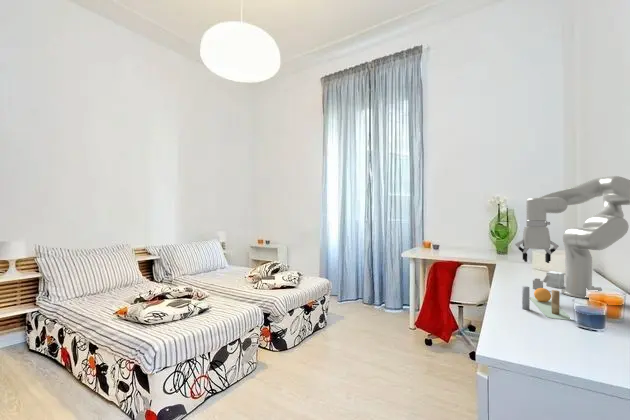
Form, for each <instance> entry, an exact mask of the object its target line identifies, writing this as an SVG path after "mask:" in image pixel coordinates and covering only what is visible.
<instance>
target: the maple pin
mask: <svg viewBox="0 0 630 420" xmlns="http://www.w3.org/2000/svg"><path fill="white" fill-rule="evenodd" d="M551 301H552V314H556V315H559V314H560V308H561V307H560V301H561V300H560V291H559V290H558V289H551Z"/></svg>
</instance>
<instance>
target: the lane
mask: <svg viewBox="0 0 630 420" xmlns="http://www.w3.org/2000/svg"><path fill="white" fill-rule="evenodd" d="M530 301H531V302H532V303H533V304H534V305H535V306H536V307H537V308H538V309H539V311H541V313H542V314H544V316H545V317H546V318H547V319H554V320H555V319H556V320H564V321H572V320H571V319H570V317H571V316H570V315H569V314H568V313H567V312H566V311H565V310H563V309H562V308H561V307H560V314H559V315H556V314H552V299H550V300H549V301H547V302H540V301H538V300H537V299H536V298H535V297H530ZM569 319H570V320H569Z"/></svg>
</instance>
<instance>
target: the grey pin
mask: <svg viewBox="0 0 630 420" xmlns="http://www.w3.org/2000/svg"><path fill="white" fill-rule="evenodd" d="M521 288H522V289H521V290H522V292H521V295H522V296H521V297H522V301H521V306H522V310H525V311H529V310H530V309H531V308H530V303H531V302H530V301H531V300H530V294H531V293H530V292H531V291H530V286H526V285H522V286H521Z"/></svg>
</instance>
